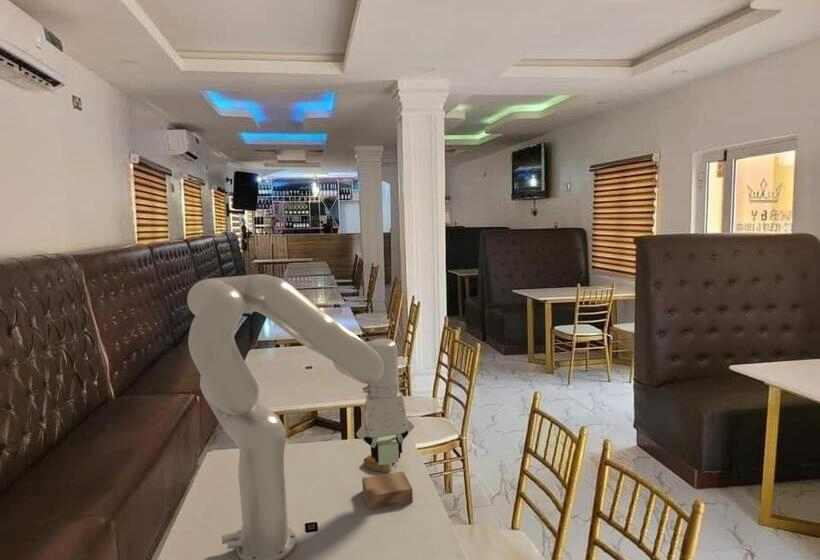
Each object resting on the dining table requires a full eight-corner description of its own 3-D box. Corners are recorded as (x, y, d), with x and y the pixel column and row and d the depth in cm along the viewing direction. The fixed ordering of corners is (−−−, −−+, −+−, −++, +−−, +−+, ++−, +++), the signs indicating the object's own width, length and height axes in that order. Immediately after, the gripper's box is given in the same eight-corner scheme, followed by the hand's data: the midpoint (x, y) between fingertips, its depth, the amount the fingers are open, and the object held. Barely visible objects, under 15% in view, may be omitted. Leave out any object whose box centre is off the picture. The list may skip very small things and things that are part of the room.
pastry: (359, 469, 152) (359, 456, 151) (369, 458, 158) (369, 446, 158) (390, 474, 149) (390, 461, 148) (399, 463, 155) (399, 450, 154)
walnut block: (369, 511, 132) (368, 495, 131) (362, 492, 141) (362, 477, 140) (412, 503, 135) (412, 488, 134) (403, 485, 143) (403, 471, 143)
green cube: (379, 465, 133) (378, 446, 132) (375, 456, 138) (374, 437, 137) (399, 461, 135) (398, 443, 134) (393, 452, 139) (393, 434, 139)
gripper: (352, 399, 127) (356, 471, 130) (421, 389, 132) (423, 459, 135) (346, 388, 135) (350, 456, 138) (412, 379, 139) (414, 445, 142)
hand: (386, 457), depth 136 cm, fingers closed on green cube, 5 cm apart
